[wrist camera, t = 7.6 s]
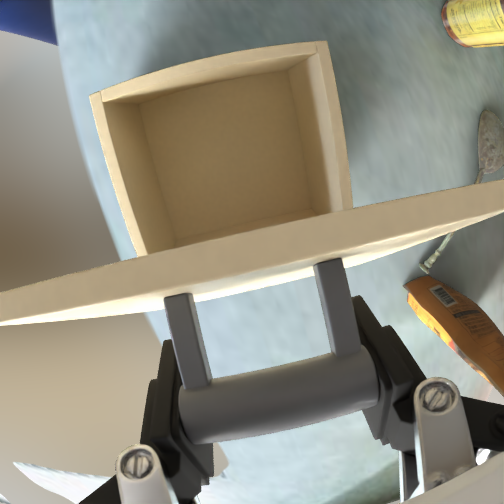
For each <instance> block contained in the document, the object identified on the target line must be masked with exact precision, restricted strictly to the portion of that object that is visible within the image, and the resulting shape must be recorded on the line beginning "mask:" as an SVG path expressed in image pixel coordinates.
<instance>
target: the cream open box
mask: <svg viewBox="0 0 504 504" xmlns="http://www.w3.org/2000/svg"><path fill="white" fill-rule="evenodd" d="M89 98H90V102H91V106H92V110H93V115H94V119H95V123H96V127H97V131H98V134H99V138H100V142H101V146H102V149H103V153H104V156H105V160H106V163H107V167H108V170H109V174H110V177H111V180H112V183H113V187H114V190H115V193H116V196H117V199H118V202H119V205H120V208H121V211H122V214H123V217H124V220H125V223H126V226H127V229H128V232H129V234H130V237H131V240H132V243H133V245H134V248H135V251H136V254H137V256H138V257H140V256H144V255H148V254H152V253H157V252H161V251H165V250H169V249H173V248H177V247H182V246H186V245H190V244H194V243H199V242H203V241H207V240H211V239H216V238H220V237H224V236H229V235H233V234H238V233H242V232H246V231H251V230H255V229H260V228H264V227H269V226H273V225H278V224H282V223H287V222H291V221H296V220H300V219H305V218H310V217H314V216H319V215H324V214H328V213H333V212H338V211H342V210H347V209H352V208H353V201H352V191H351V181H350V173H349V164H348V156H347V149H346V141H345V134H344V128H343V121H342V115H341V109H340V103H339V97H338V92H337V86H336V81H335V76H334V71H333V66H332V61H331V56H330V52H329V47H328V43H327V41H315V42H314V41H312V42H300V43H291V44H282V45H274V46H267V47H260V48H254V49H248V50H242V51H236V52H231V53H226V54H221V55H216V56H212V57H207V58H203V59H199V60H195V61H191V62H187V63H183V64H179V65H175V66H172V67H168V68H165V69H161V70H158V71H155V72H151V73H148V74H145V75H142V76H139V77H136V78H133V79H130V80H127V81H124V82H122V83H119V84H116V85H113V86H111V87H108V88H106V89H103V90H101V91H98V92H96V93H93V94H91V95H89Z"/></svg>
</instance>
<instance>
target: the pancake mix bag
mask: <svg viewBox="0 0 504 504" xmlns="http://www.w3.org/2000/svg"><path fill="white" fill-rule="evenodd" d="M403 287H404V288H405V289H406V290H408V291H409V293H408V300H407V302H408V303H409V304H410V306H411V307H412V309H413V310H414V311H415V313H416V314H417V315H418V317H419V318H420V319H421V321H422V322H423V323H425V324H426V325H427V326H428V327H429V328H430V329H431V330H432V331H434V332H435V333H436V334H437V335H438V336H439V337H440V338H441V339H442V340H443V341H444V342H445V343H446V344H448V345H449V346H450V347H451V348H452V349H453V350H454V351H455V352H456V353H457V354H458V355H459V356H460V357H461V358H462V359H463V360H464V361H465V362H467V363H468V364H469V365H470V366H471V367H472V368H473V369H474V370H475V371H477V372H478V373H479V374H480V375H481V376H482V377H484V378H485V379H486V380H487V381H488V382H489V383H490V384H492V385H493V386H494V387H495V388H496V389H497V390H498V391H499V392H500V394H501V395H502V396H503V397H504V336H503V334H502V333H501V332H500V330H499V329H498V328H497V326H496V325H495V324H494V323H493V321H492V320H491V319H490V318H489V316H488V315H487V314H486V313H485V312H484V311H483V310H482V309H481V308H480V307H479V306H478V305H477V304H476V303H475V302H473V301H472V300H471V299H469V298H467V297H466V296H464V295H462V294H461V293H459V292H458V291H456V290H454V289H453V288H451V287H449V286H447V285H445V284H444V283H442V282H440V281H438V280H436V279H434V278H432V277H431V276H423V277H419V278H417V279H415V280H412V281H410V282H409V283H407V284H405V285H403Z"/></svg>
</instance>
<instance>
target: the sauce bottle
mask: <svg viewBox="0 0 504 504" xmlns="http://www.w3.org/2000/svg"><path fill="white" fill-rule="evenodd" d="M441 15H442V21H443V24H444V26H445V29H446V31H447V33H448V34H449V36H450V37H451V38H452V39H453V40H454V41H456V42H457V43H458V44H460V45H462V46H464V47H490V46H504V0H449V1H447V2H446V3H445V4H444V6H443V9H442V12H441Z"/></svg>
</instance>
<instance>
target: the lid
mask: <svg viewBox="0 0 504 504" xmlns="http://www.w3.org/2000/svg"><path fill="white" fill-rule="evenodd" d="M502 212H504V179H501V180H496V181H490V182H484V183H479V184H474V185H468V186H463V187H458V188H452V189H447V190H442V191H437V192H431V193H426V194H421V195H416V196H411V197H406V198H401V199H396V200H391V201H386V202H381V203H376V204H371V205H366V206H362V207H357V208H352V209H347V210H342V211H338V212H333V213H328V214H324V215H319V216H314V217H310V218H305V219H300V220H296V221H291V222H287V223H282V224H278V225H273V226H269V227H264V228H260V229H255V230H251V231H246V232H242V233H238V234H233V235H229V236H224V237H220V238H216V239H211V240H207V241H203V242H199V243H194V244H190V245H186V246H182V247H177V248H173V249H169V250H165V251H161V252H157V253H152V254H148V255H144V256H140V257H136V258H132V259H128V260H124V261H120V262H116V263H112V264H108V265H104V266H100V267H96V268H92V269H88V270H84V271H80V272H76V273H73V274H69V275H65V276H61V277H57V278H53V279H50V280H46V281H42V282H38V283H34V284H30V285H27V286H23V287H19V288H16V289H12V290H8V291H5V292H1V293H0V325H13V324H25V323H39V322H50V321H62V320H72V319H83V318H92V317H102V316H111V315H120V314H129V313H137V312H146V311H154V310H160V309H165V311H166V316H167V321H168V325H169V330H170V334H171V338H172V343H173V347H174V351H175V355H176V359H177V363H178V367H179V371H180V375H181V379H182V382H183V385H182V386H181V387H180V390H179V400H178V403H179V413H180V419H181V423H182V426H183V429H184V431H185V434H186V436H187V437H188V439H189V440H190V442H191V443H193V444H196V445H197V444H207V443H215V442H223V441H230V440H236V439H243V438H249V437H255V436H260V435H266V434H271V433H276V432H280V431H285V430H290V429H294V428H298V427H303V426H307V425H311V424H315V423H319V422H322V421H326V420H330V419H333V418H337V417H340V416H344V415H347V414H350V413H353V412H357V411H360V410H363V409H366V408H369V407H372V406H375V405H376V404H377V403H378V401H379V394H380V389H379V380H378V375H377V371H376V368H375V365H374V362H373V360H372V358H371V355H370V354H369V352H368V350H367V349H366V348H365V347H364V346H363V345H361V343H360V338H359V332H358V327H357V322H356V318H355V313H354V308H353V303H352V299H351V294H350V290H349V286H348V281H347V277H346V273H345V268H347V267H351V266H355V265H359V264H362V263H365V262H368V261H371V260H374V259H377V258H380V257H383V256H386V255H388V254H391V253H394V252H397V251H400V250H403V249H406V248H409V247H411V246H414V245H417V244H420V243H423V242H425V241H428V240H431V239H434V238H437V237H439V236H442V235H445V234H447V233H450V232H453V231H455V230H458V229H461V228H463V227H466V226H469V225H471V224H474V223H477V222H479V221H482V220H484V219H487V218H489V217H492V216H495V215H497V214H500V213H502ZM314 275H315V279H316V283H317V288H318V292H319V296H320V301H321V305H322V310H323V314H324V319H325V324H326V328H327V333H328V338H329V343H330V348H331V353H328V354H324V355H320V356H317V357H313V358H309V359H305V360H301V361H297V362H293V363H288V364H284V365H280V366H275V367H271V368H266V369H262V370H257V371H252V372H247V373H242V374H237V375H231V376H226V377H220V378H214V379H213V378H212V374H211V370H210V366H209V362H208V358H207V354H206V350H205V346H204V341H203V337H202V333H201V329H200V324H199V320H198V315H197V311H196V306H195V302H199V301H204V300H208V299H213V298H218V297H223V296H227V295H232V294H236V293H241V292H245V291H250V290H254V289H259V288H263V287H268V286H272V285H276V284H281V283H285V282H289V281H293V280H298V279H302V278H306V277H310V276H314Z"/></svg>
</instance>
